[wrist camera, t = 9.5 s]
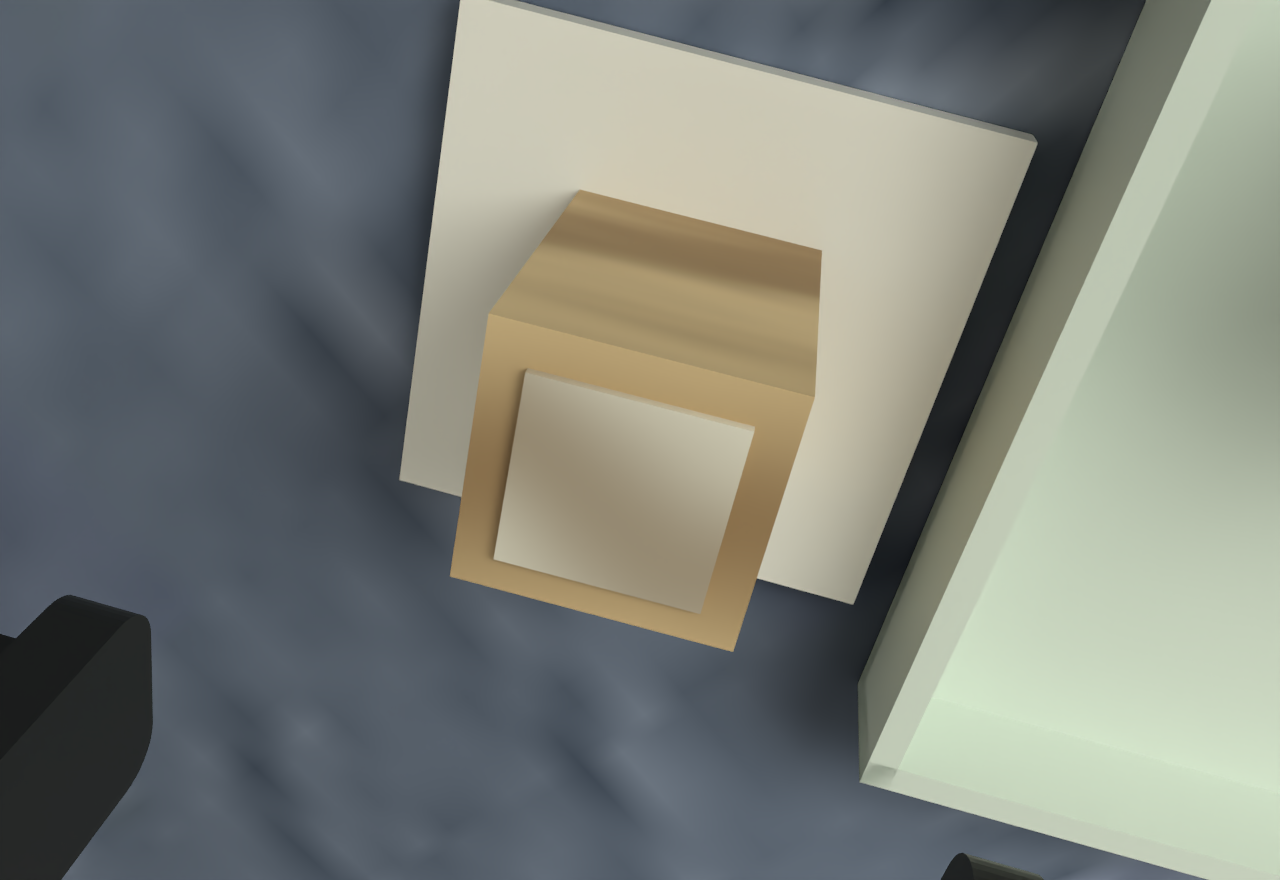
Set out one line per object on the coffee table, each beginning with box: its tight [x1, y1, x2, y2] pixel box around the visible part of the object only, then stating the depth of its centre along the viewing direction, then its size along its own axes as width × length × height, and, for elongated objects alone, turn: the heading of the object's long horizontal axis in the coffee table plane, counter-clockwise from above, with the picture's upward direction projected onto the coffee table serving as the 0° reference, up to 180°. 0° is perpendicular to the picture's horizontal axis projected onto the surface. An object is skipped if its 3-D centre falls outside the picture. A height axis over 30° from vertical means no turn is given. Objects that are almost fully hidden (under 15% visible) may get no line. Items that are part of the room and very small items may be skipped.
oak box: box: [450, 190, 822, 652], centre depth 19 cm, size 4×4×6 cm
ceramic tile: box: [399, 0, 1038, 605], centre depth 21 cm, size 10×10×1 cm
